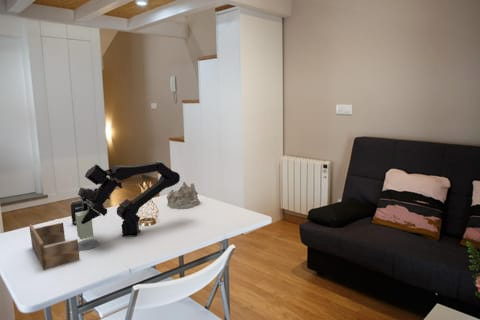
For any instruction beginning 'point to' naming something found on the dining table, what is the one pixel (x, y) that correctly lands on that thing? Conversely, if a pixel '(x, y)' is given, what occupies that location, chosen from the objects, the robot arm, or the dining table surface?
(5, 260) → the dining table surface
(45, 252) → the open box
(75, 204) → the battery charger
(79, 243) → the grey mat
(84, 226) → the block
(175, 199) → the miniature castle
